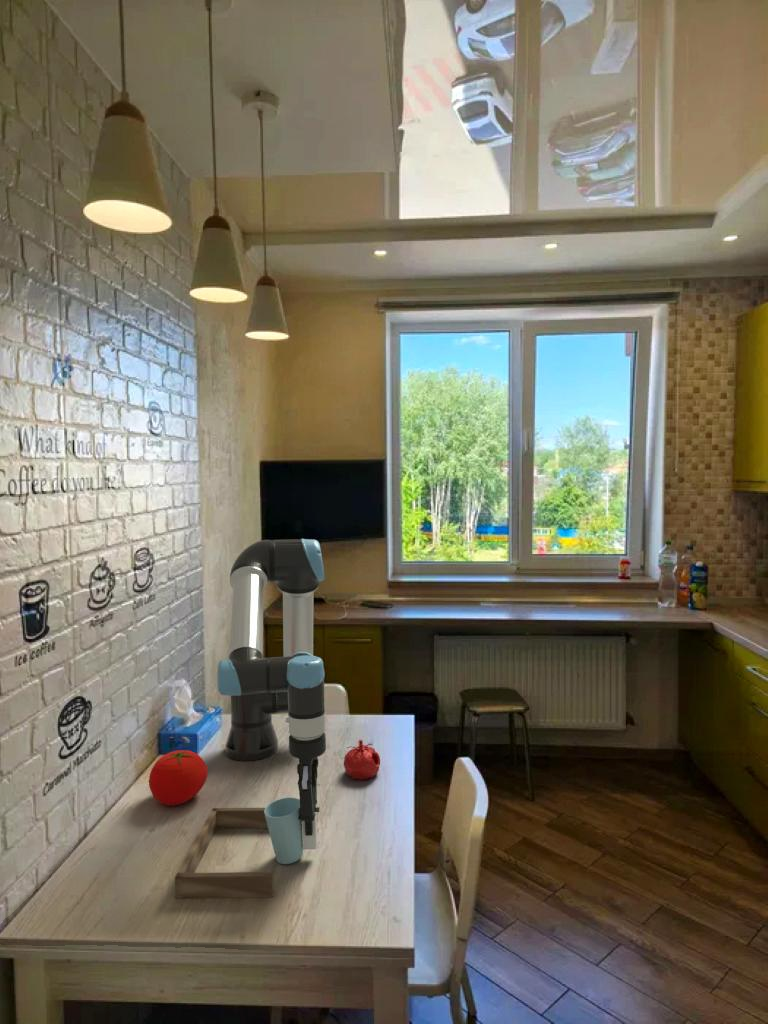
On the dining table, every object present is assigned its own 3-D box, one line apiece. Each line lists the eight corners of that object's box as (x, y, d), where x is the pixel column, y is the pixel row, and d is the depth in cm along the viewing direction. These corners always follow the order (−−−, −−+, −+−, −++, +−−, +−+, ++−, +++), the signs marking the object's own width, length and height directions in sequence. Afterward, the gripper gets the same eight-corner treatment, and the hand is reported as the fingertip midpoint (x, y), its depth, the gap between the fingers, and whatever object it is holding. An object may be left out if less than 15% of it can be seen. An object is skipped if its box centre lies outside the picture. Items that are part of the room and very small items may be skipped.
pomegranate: (348, 786, 151) (347, 751, 151) (340, 769, 161) (338, 735, 161) (385, 780, 154) (384, 745, 154) (374, 763, 164) (373, 730, 163)
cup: (265, 854, 123) (259, 806, 123) (300, 840, 127) (294, 793, 126) (277, 873, 116) (270, 821, 116) (313, 857, 120) (306, 807, 120)
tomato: (163, 785, 152) (162, 741, 152) (214, 787, 151) (214, 742, 151) (138, 812, 140) (137, 763, 139) (194, 814, 139) (193, 765, 138)
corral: (213, 825, 134) (212, 808, 134) (292, 824, 134) (291, 807, 134) (175, 898, 109) (175, 877, 109) (272, 897, 109) (271, 876, 109)
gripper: (293, 722, 127) (296, 829, 128) (283, 747, 114) (286, 867, 115) (328, 721, 128) (330, 828, 128) (322, 746, 114) (325, 866, 115)
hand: (310, 846), depth 121 cm, fingers closed
